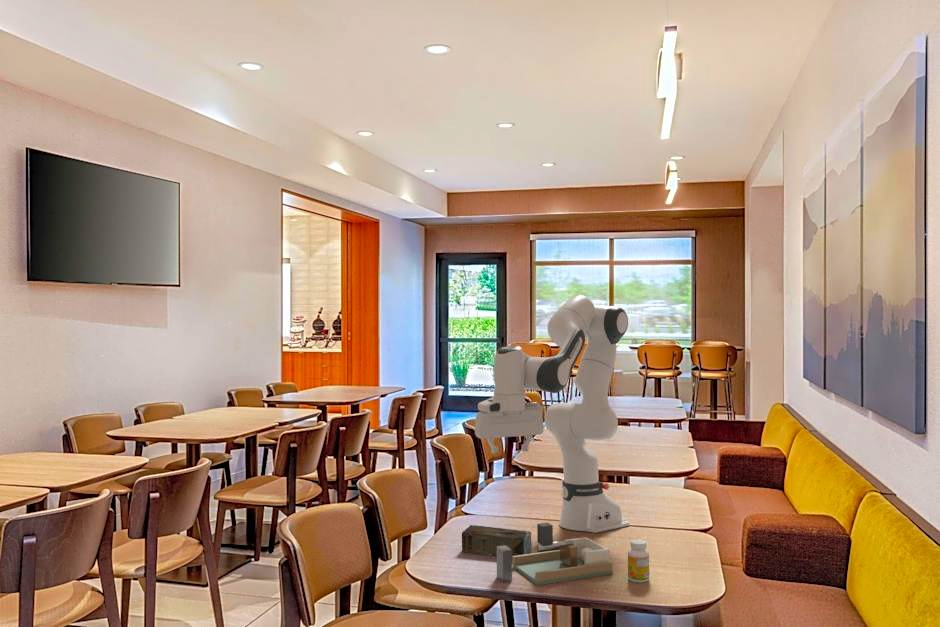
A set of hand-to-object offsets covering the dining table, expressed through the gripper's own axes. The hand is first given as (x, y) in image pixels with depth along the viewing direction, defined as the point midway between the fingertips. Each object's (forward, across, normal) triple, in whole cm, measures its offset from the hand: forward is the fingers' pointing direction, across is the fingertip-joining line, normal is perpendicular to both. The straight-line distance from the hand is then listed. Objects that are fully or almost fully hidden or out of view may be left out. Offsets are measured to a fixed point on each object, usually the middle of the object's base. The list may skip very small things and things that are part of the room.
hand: (509, 452), depth 219 cm
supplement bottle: (+29, -22, +31) cm, 48 cm away
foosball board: (+29, -7, +17) cm, 35 cm away
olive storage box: (+30, +3, -4) cm, 30 cm away
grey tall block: (+29, +10, +17) cm, 35 cm away
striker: (+28, -5, +17) cm, 33 cm away
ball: (+26, -15, +17) cm, 35 cm away
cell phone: (+30, -12, +2) cm, 32 cm away
